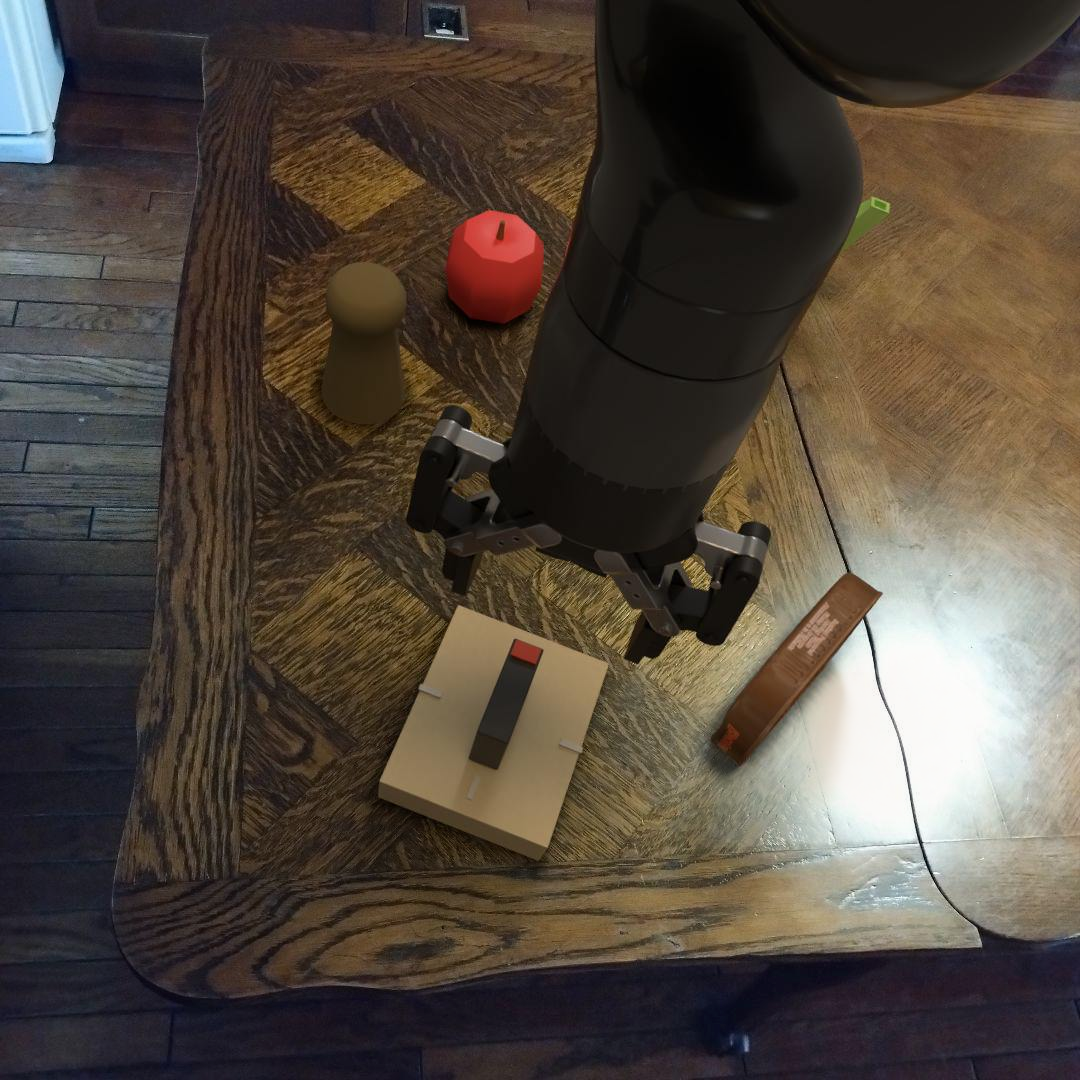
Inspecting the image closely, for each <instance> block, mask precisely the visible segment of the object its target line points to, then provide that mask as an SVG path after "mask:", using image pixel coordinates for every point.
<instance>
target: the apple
mask: <svg viewBox="0 0 1080 1080" xmlns="http://www.w3.org/2000/svg"><path fill="white" fill-rule="evenodd" d="M450 238H451V239H450V241H449V245H448V250H447V251H448V252H447V257H446V263H445V268H444V269H445V278H446V285H447V292H448V298H450V299H451V300H452V301H453V302H454V303H455V305H457V307H459V309H461V311H462V312H464V313H465V314H466V315H467V317H468V318H470V319H475V320H480V321H486V322H492V323H497V324H506V323H508V322H510V321H512V320H513V319H515V318H517V317H519V316H521V315H523V314H525V313H526V312H529V311H530V309H531V307H532V305H533V303H534V302H535V299H536V298H537V296H538V294H539V292H540V290H541V289H542V283H543V274H544V273H543V272H544V262H545V261H544V260H545V254H544V253H545V251H544V250H545V249H544V248H545V247H544V243H543V241H542V239H541V238H540V236H539V235H538V234H537V232H536V231H535V230H534V229H533V228H532V227H531V226H530V225H528V223H526V222H525V221H524V220H523V219H522V218H521V217H520V216H519V215H518V214H512V213H508V212H502V211H497V210H491V209H489V210H486V211H484V212H481V213H480V214H477V215H475V216H473V217H471V218H468V219H466V220H465V221H464V222H463V223H461V224H459V226H457V227H455V228H454V230H453V233H452V236H451V237H450Z"/></svg>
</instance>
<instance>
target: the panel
mask: <svg viewBox="0 0 1080 1080" xmlns="http://www.w3.org/2000/svg"><path fill="white" fill-rule="evenodd" d="M515 638H516V639H518V640H521V641H524V642H526V643H529V644H531V645H534V646H536V647H539V648H542V649H543V650H544V651H543V654H542V657H541V659H540V662H539V665H538V667H537V670H536V673H535V675H534V678H533V681H532V683H531V686H530V688H529V691H528V694H527V696H526V699H525V702H524V704H523V707H522V710H521V712H520V715H519V718H518V720H517V723H516V725H515V728H514V731H513V733H512V736H511V739H510V741H509V744H508V746H507V749H506V751H505V753H504V756H503V758H502V761H501V763H500V766H499V768H498V770H495V769H492V768H490V767H487V766H485V765H482V764H480V763H477V762H475V761H472V760H470V759H469V754H470V751H471V748H472V745H473V742H474V739H475V736H476V733H477V730H478V727H479V725H480V722H481V720H482V717H483V715H484V712H485V710H486V707H487V705H488V702H489V700H490V697H491V695H492V692H493V690H494V687H495V685H496V682H497V680H498V678H499V675H500V673H501V670H502V668H503V665H504V663H505V660H506V658H507V655H508V653H509V650H510V648H511V645H512V643H513V640H514V639H515ZM609 665H610V663H609V662H606V661H603V660H601V659H598V658H596V657H593V656H591V655H589V654H586V653H583V652H580V651H577V650H575V649H572V648H570V647H567V646H565V645H562V644H560V643H557V642H554V641H552V640H549V639H547V638H544V637H542V636H539V635H537V634H534V633H532V632H528V631H526V630H524V629H521V628H518V627H516V626H513V625H511V624H509V623H505V622H503V621H501V620H498V619H496V618H493V617H491V616H488V615H485V614H483V613H480V612H477V611H475V610H473V609H470V608H467V607H465V606H462V605H460V604H459V605H457V606H456V609H455V611H454V613H453V615H452V618H451V619H450V622H449V624H448V626H447V630H446V631H445V634H444V636H443V637H442V640H441V642H440V644H439V646H438V648H437V651H436V653H435V655H434V658H433V660H432V662H431V664H430V667H429V668H428V671H427V673H426V676H425V678H424V680H423V683H420V684H419V686H418V689H417V690H418V694H417V696H416V698H415V700H414V703H413V704H412V707H411V709H410V712H409V713H408V716H407V718H406V721H405V722H404V725H403V727H402V730H401V731H400V734H399V736H398V738H397V741H396V742H395V744H394V747H393V749H392V752H391V754H390V756H389V758H388V761H387V763H386V765H385V768H384V770H383V772H382V774H381V776H380V779H379V783H378V791H377V797H378V798H379V799H382V800H384V801H386V802H389V803H391V804H392V803H393V804H395V805H397V806H399V807H402V808H405V809H406V810H409V811H412V812H414V813H416V814H419V815H422V816H425V817H427V818H429V819H432V820H435V821H437V822H439V823H441V824H445V825H447V826H450V827H452V828H454V829H457V830H460V831H462V832H465V833H466V834H470V835H473V836H474V837H477V838H479V839H482V840H485V841H488V842H489V843H493V844H495V845H497V846H499V847H502V848H505V849H507V850H510V851H512V852H515V853H517V854H520V855H523V856H524V857H528V858H530V859H533V860H535V861H540V860H541V858H542V857H543V856H544V854H545V853H546V851H547V850H548V849H549V846H550V843H551V840H552V837H553V834H554V831H555V827H556V825H557V821H558V819H559V817H560V813H561V811H562V806H563V804H564V801H565V797H566V795H567V792H568V788H569V786H570V783H571V779H572V778H573V774H574V771H575V768H576V764H577V762H578V759H579V756H580V754H581V755H582V753H583V751H584V746H583V743H584V741H585V738H586V735H587V731H588V729H589V726H590V722H591V720H592V716H593V714H594V710H595V708H596V705H597V702H598V698H599V695H600V693H601V690H602V686H603V684H604V681H605V678H606V674H607V672H608V668H609Z"/></svg>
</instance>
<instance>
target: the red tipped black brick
mask: <svg viewBox="0 0 1080 1080" xmlns="http://www.w3.org/2000/svg"><path fill="white" fill-rule="evenodd" d="M543 651H544V650H543V649H542V648H539V647H536V646H534V645H531V644H529V643H526V642H524V641H521V640H518V639H516V638H515V639H514V640H513V643H512V645H511V648H510V650H509V653H508V655H507V658H506V660H505V663H504V665H503V668H502V670H501V673H500V675H499V678H498V680H497V682H496V685H495V687H494V690H493V692H492V695H491V697H490V700H489V702H488V705H487V707H486V710H485V712H484V715H483V717H482V720H481V722H480V725H479V727H478V730H477V733H476V736H475V739H474V742H473V745H472V748H471V751H470V754H469V759H470V760H472V761H475V762H477V763H480V764H482V765H485V766H487V767H490V768H492V769H495V770H498V768H499V766H500V763H501V761H502V758H503V756H504V753H505V751H506V749H507V746H508V744H509V741H510V739H511V736H512V733H513V731H514V728H515V725H516V723H517V720H518V718H519V715H520V712H521V710H522V707H523V704H524V702H525V699H526V696H527V694H528V691H529V688H530V686H531V683H532V681H533V678H534V675H535V673H536V670H537V667H538V665H539V662H540V659H541V657H542V654H543Z"/></svg>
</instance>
